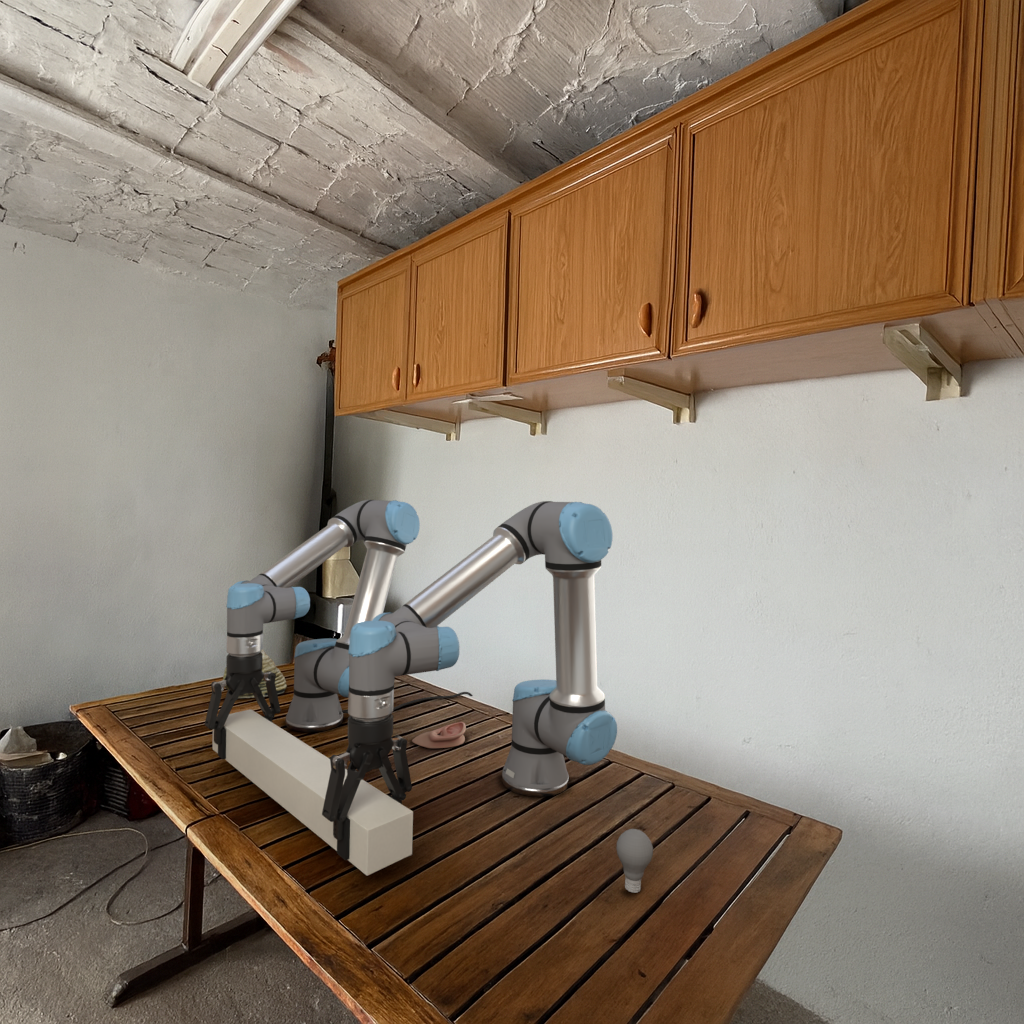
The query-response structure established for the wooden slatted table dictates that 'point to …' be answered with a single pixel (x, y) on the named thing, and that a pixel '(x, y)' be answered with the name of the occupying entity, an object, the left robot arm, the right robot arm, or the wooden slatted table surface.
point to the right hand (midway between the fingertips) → (368, 845)
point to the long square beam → (316, 791)
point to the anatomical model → (442, 736)
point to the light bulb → (634, 857)
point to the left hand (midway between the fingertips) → (243, 751)
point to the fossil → (266, 666)
